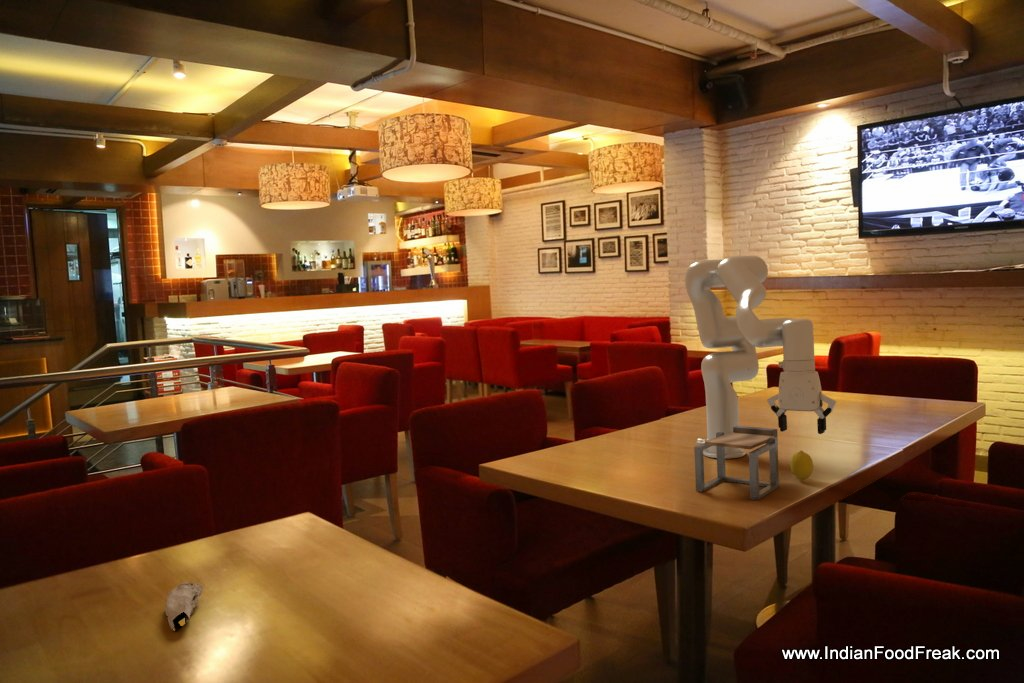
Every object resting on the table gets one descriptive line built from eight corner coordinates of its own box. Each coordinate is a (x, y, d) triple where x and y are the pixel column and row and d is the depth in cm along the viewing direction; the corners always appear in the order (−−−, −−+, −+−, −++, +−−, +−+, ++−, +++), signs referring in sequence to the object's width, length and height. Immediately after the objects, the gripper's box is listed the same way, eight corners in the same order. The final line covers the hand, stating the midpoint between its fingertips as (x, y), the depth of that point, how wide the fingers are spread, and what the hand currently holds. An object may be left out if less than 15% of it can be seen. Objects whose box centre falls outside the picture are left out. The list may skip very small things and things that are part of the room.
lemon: (815, 483, 187) (814, 453, 186) (792, 483, 188) (792, 453, 188) (811, 477, 192) (810, 448, 192) (789, 478, 194) (788, 448, 193)
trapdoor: (704, 450, 185) (704, 436, 185) (736, 438, 199) (735, 425, 199) (750, 455, 177) (750, 440, 177) (779, 442, 192) (779, 429, 191)
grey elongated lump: (166, 606, 133) (165, 581, 133) (204, 600, 135) (202, 576, 135) (154, 639, 120) (152, 612, 120) (195, 632, 122) (193, 605, 122)
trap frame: (696, 491, 186) (694, 442, 185) (720, 478, 197) (718, 432, 196) (756, 500, 176) (755, 448, 175) (779, 486, 186) (777, 437, 185)
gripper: (760, 367, 191) (763, 432, 192) (829, 368, 180) (832, 436, 180) (771, 364, 197) (774, 427, 197) (838, 365, 185) (841, 431, 186)
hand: (802, 431), depth 189 cm, fingers open, 9 cm apart
